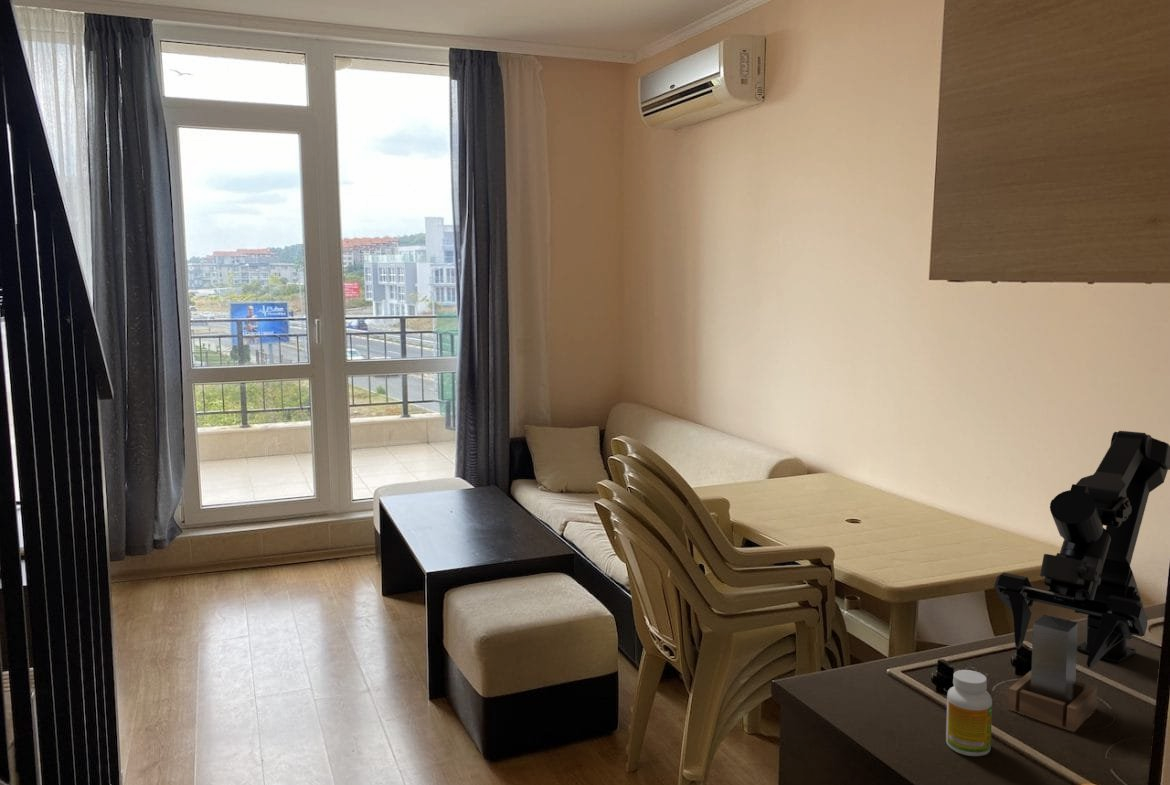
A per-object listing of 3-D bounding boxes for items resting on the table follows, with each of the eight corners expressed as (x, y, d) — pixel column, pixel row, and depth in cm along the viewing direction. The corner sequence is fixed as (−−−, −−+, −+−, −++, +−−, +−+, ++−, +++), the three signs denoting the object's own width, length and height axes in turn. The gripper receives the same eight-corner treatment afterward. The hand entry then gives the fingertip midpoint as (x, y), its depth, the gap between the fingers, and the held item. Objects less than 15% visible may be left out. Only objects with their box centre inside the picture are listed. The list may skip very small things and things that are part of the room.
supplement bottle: (995, 759, 111) (997, 687, 110) (950, 755, 112) (952, 684, 111) (985, 737, 116) (987, 668, 115) (942, 734, 117) (943, 665, 116)
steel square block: (1040, 697, 126) (1044, 614, 124) (1074, 707, 123) (1078, 622, 121) (1029, 708, 123) (1033, 623, 121) (1063, 719, 120) (1067, 632, 118)
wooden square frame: (1032, 691, 129) (1032, 668, 129) (1096, 711, 123) (1097, 687, 122) (1008, 712, 123) (1008, 688, 123) (1074, 734, 117) (1075, 709, 117)
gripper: (1000, 519, 129) (968, 612, 123) (1146, 544, 116) (1118, 649, 110) (1018, 557, 136) (988, 647, 130) (1158, 585, 123) (1132, 686, 116)
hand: (1052, 656), depth 121 cm, fingers open, 9 cm apart
